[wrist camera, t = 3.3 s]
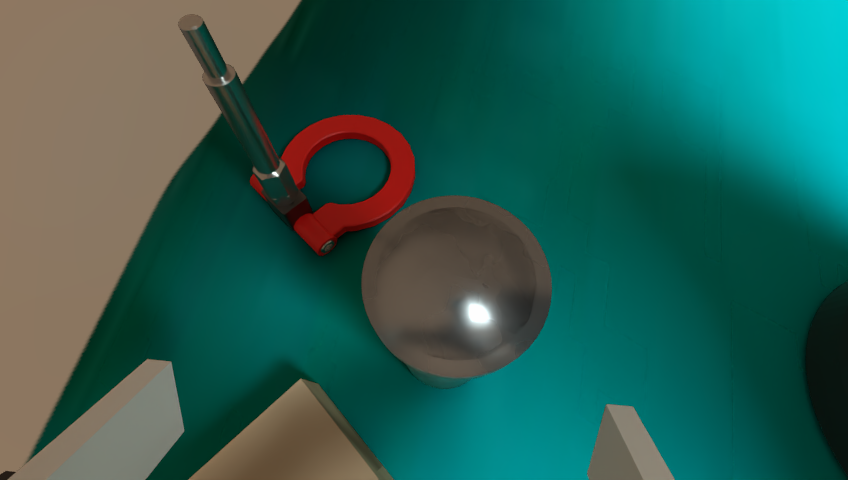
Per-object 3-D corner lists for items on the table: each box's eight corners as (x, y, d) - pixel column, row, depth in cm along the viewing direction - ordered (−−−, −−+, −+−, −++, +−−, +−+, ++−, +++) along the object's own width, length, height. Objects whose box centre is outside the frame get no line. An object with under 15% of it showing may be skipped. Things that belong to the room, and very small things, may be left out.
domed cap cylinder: (514, 346, 21) (591, 280, 11) (443, 421, 20) (456, 425, 10) (444, 277, 23) (455, 165, 12) (374, 342, 21) (323, 274, 11)
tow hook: (356, 106, 28) (245, 183, 25) (316, -120, 17) (102, -28, 14) (441, 178, 26) (330, 271, 23) (465, -30, 14) (244, 106, 11)
